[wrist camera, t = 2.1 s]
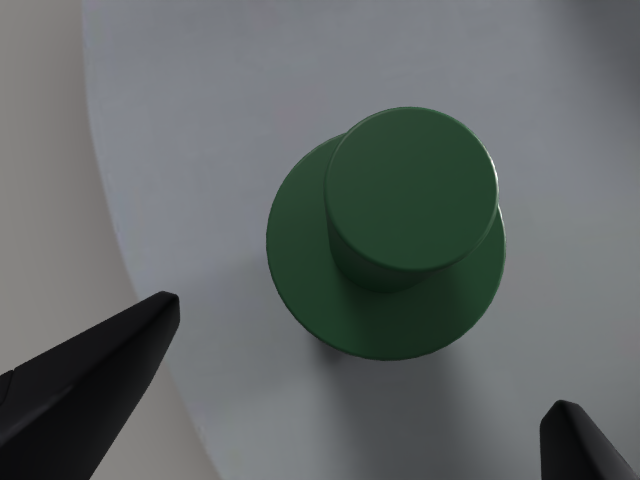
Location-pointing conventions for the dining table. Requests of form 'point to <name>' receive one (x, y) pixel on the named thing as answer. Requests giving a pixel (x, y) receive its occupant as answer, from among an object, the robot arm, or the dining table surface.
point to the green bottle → (389, 235)
